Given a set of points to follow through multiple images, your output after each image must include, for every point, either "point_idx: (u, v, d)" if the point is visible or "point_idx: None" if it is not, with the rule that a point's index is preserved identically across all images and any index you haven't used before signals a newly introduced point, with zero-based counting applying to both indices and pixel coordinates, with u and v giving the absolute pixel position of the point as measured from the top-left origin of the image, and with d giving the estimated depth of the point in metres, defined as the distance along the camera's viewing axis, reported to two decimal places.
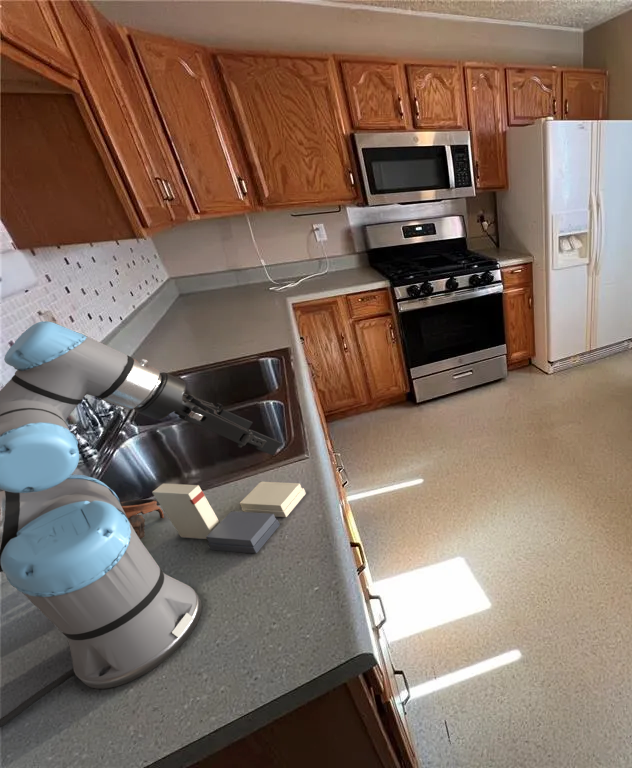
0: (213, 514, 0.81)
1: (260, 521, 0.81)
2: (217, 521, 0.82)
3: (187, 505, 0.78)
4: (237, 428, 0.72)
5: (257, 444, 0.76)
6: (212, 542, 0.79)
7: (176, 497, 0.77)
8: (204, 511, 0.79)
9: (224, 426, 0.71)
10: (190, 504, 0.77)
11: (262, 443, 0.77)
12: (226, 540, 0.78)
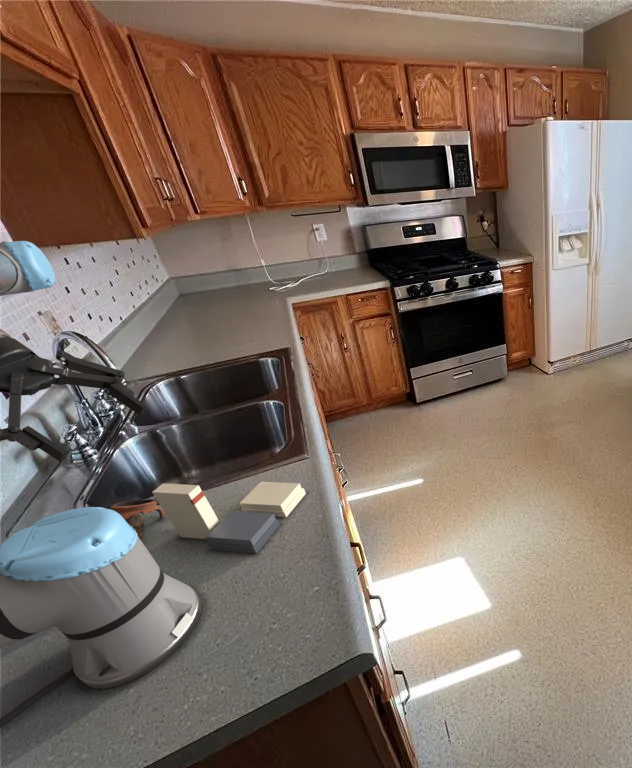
0: (213, 514, 0.81)
1: (260, 521, 0.81)
2: (217, 521, 0.82)
3: (187, 505, 0.78)
4: (107, 373, 0.80)
5: None
6: (212, 542, 0.79)
7: (176, 497, 0.77)
8: (204, 511, 0.79)
9: None
10: (190, 504, 0.77)
11: None
12: (226, 540, 0.78)
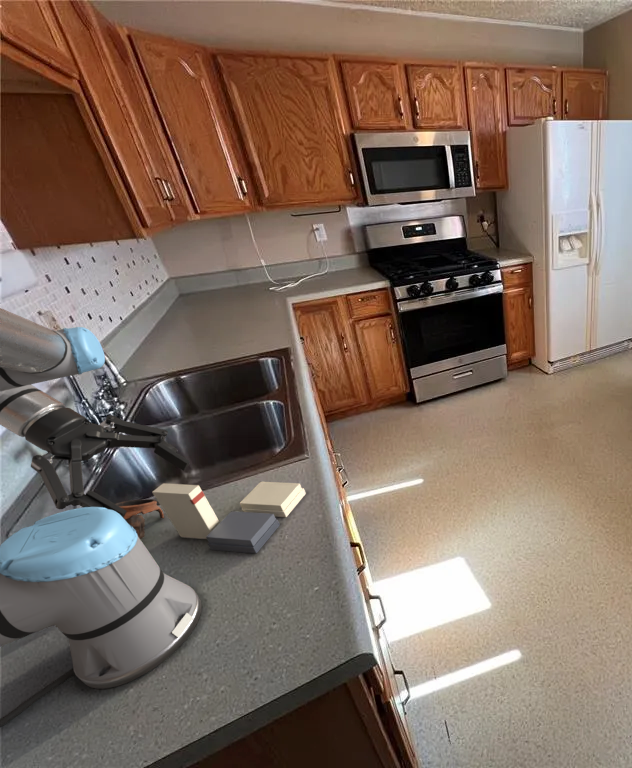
0: (213, 514, 0.81)
1: (260, 521, 0.81)
2: (217, 521, 0.82)
3: (187, 505, 0.78)
4: None
5: None
6: (212, 542, 0.79)
7: (176, 497, 0.77)
8: (204, 511, 0.79)
9: None
10: (190, 504, 0.77)
11: None
12: (226, 540, 0.78)
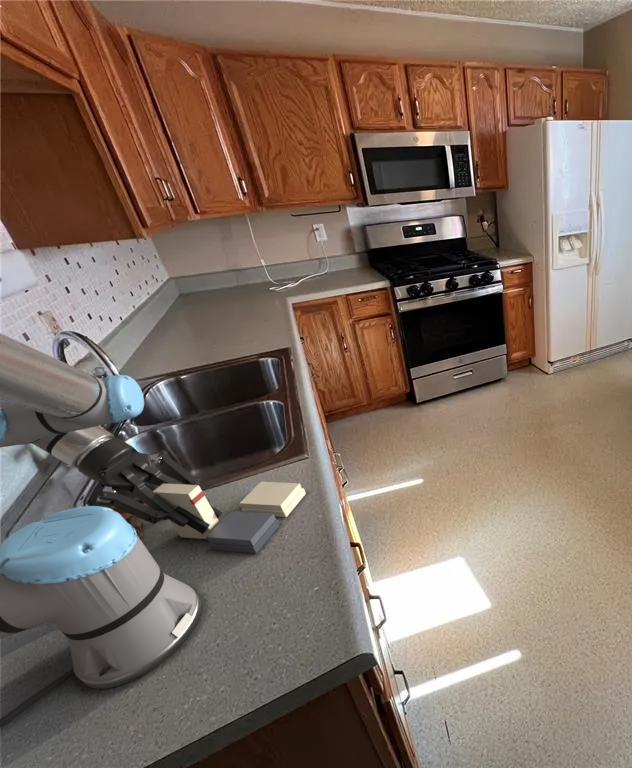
0: (213, 514, 0.81)
1: (260, 521, 0.81)
2: (217, 521, 0.82)
3: (187, 505, 0.78)
4: None
5: None
6: (212, 542, 0.79)
7: (176, 497, 0.77)
8: (204, 511, 0.79)
9: None
10: (190, 504, 0.77)
11: None
12: (226, 540, 0.78)
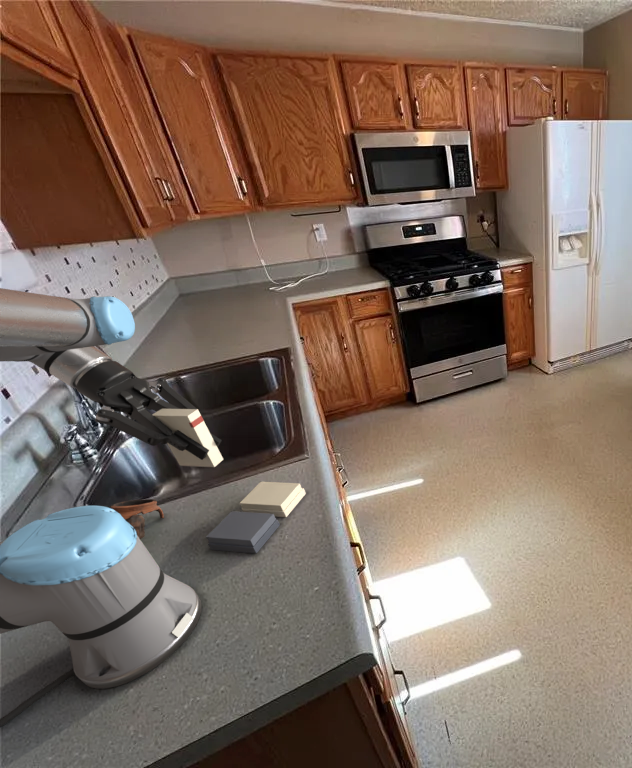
0: (212, 441, 0.81)
1: (260, 521, 0.81)
2: (216, 449, 0.82)
3: (186, 429, 0.77)
4: None
5: None
6: (212, 542, 0.79)
7: (175, 420, 0.77)
8: (203, 436, 0.79)
9: None
10: (189, 428, 0.77)
11: None
12: (226, 540, 0.78)
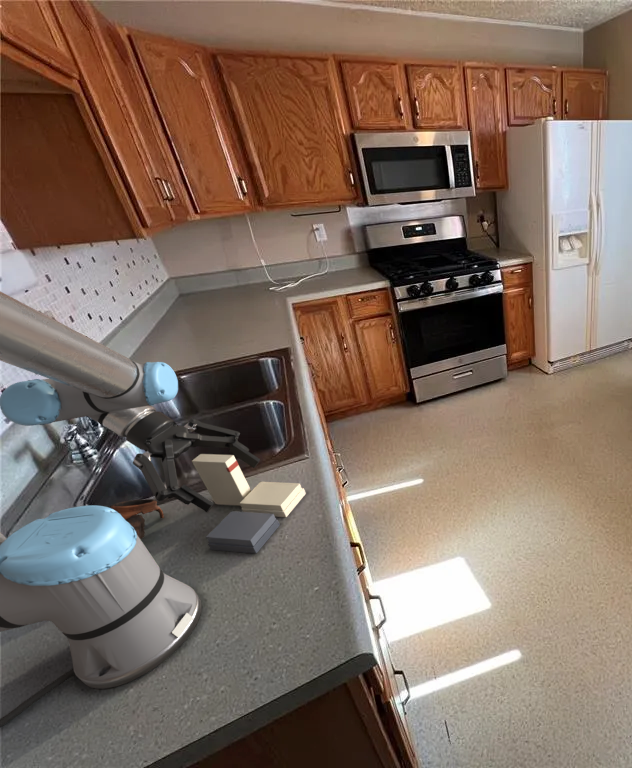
0: (245, 482, 0.89)
1: (260, 521, 0.81)
2: (249, 489, 0.90)
3: (223, 473, 0.85)
4: None
5: None
6: (212, 542, 0.79)
7: (213, 466, 0.85)
8: (238, 479, 0.87)
9: None
10: (226, 472, 0.85)
11: None
12: (226, 540, 0.78)
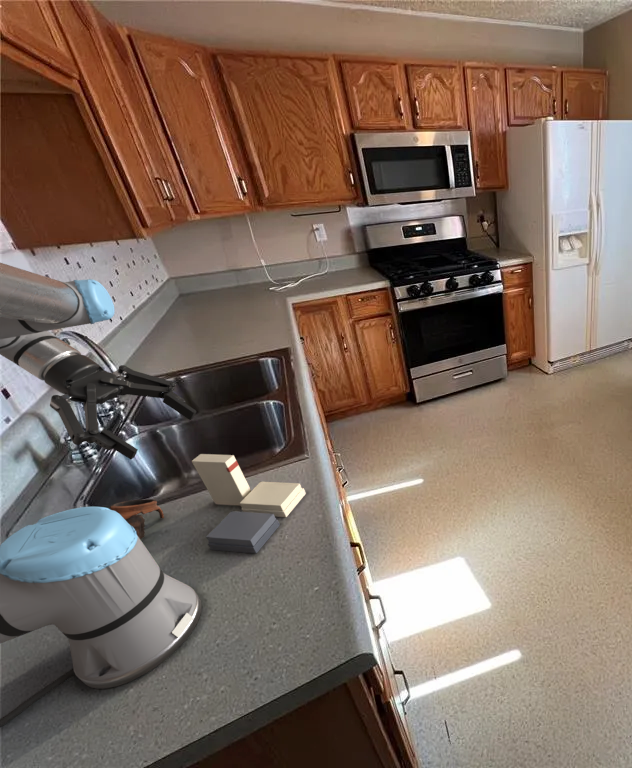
0: (245, 482, 0.89)
1: (260, 521, 0.81)
2: (249, 489, 0.90)
3: (223, 473, 0.85)
4: (160, 385, 0.90)
5: None
6: (212, 542, 0.79)
7: (213, 466, 0.85)
8: (238, 479, 0.87)
9: None
10: (226, 472, 0.85)
11: None
12: (226, 540, 0.78)
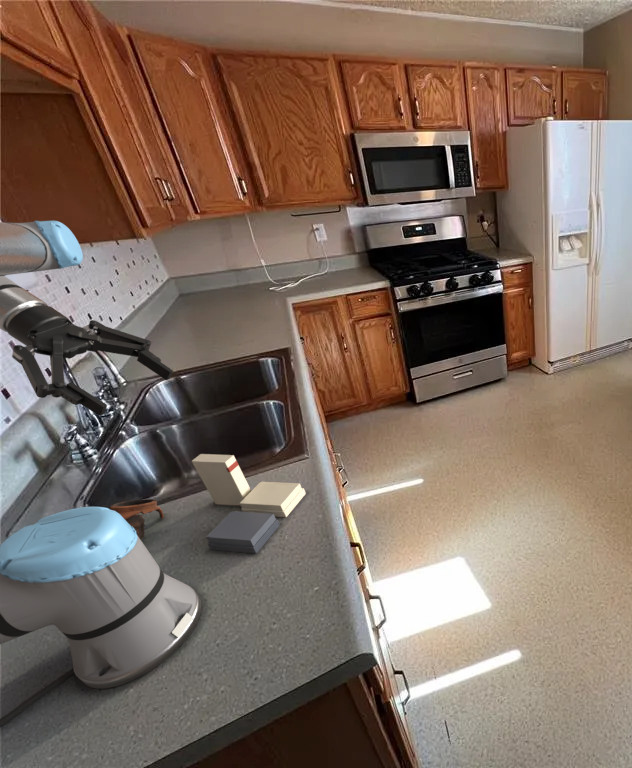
0: (245, 482, 0.89)
1: (260, 521, 0.81)
2: (249, 489, 0.90)
3: (223, 473, 0.85)
4: (134, 343, 0.86)
5: None
6: (212, 542, 0.79)
7: (213, 466, 0.85)
8: (238, 479, 0.87)
9: None
10: (226, 472, 0.85)
11: None
12: (226, 540, 0.78)
